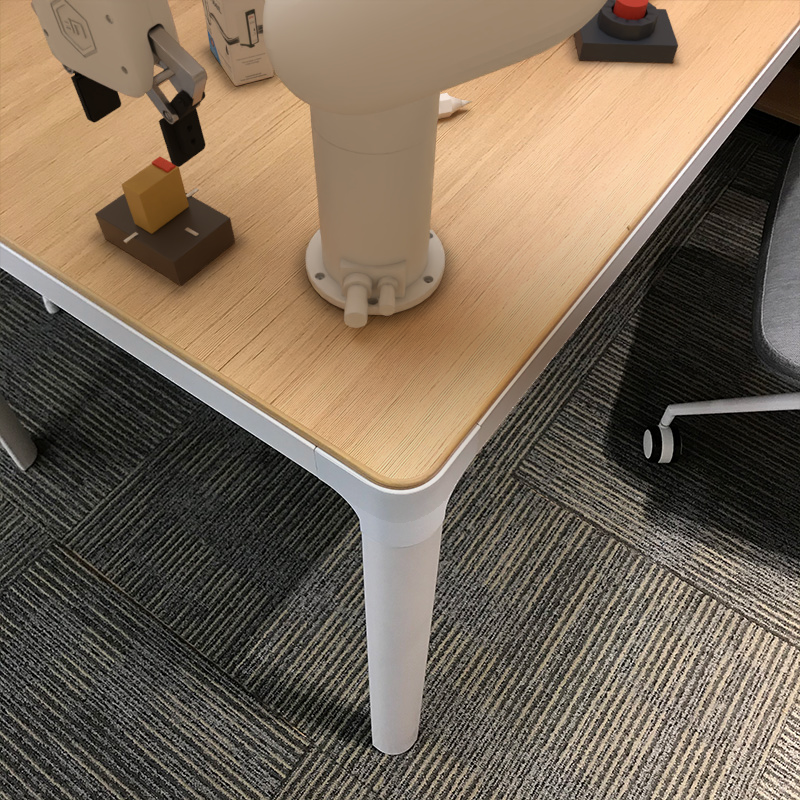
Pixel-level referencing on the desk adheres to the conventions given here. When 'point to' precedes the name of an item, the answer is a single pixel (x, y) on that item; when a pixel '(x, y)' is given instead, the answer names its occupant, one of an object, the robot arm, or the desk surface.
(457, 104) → the marker
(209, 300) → the desk surface
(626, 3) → the bell button
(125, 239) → the plate
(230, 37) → the ink box
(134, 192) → the lock knob
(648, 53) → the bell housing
